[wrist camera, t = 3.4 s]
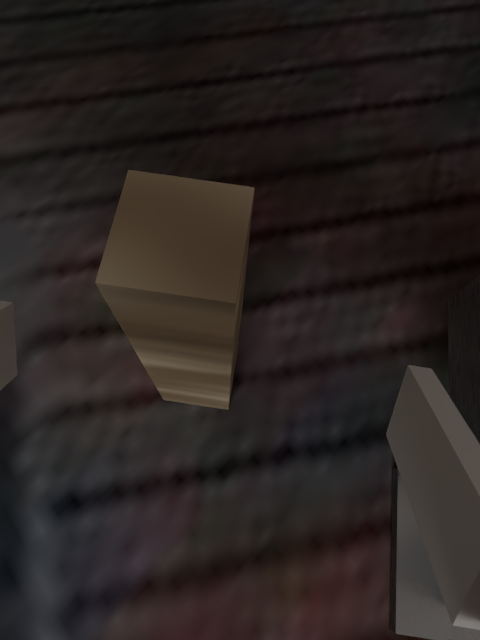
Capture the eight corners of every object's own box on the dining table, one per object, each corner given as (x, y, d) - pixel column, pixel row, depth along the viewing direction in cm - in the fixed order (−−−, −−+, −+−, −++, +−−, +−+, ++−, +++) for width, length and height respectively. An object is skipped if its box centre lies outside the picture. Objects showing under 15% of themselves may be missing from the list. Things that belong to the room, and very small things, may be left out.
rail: (228, 409, 24) (235, 303, 11) (163, 399, 24) (94, 282, 11) (238, 347, 25) (254, 187, 12) (176, 338, 25) (128, 169, 12)
